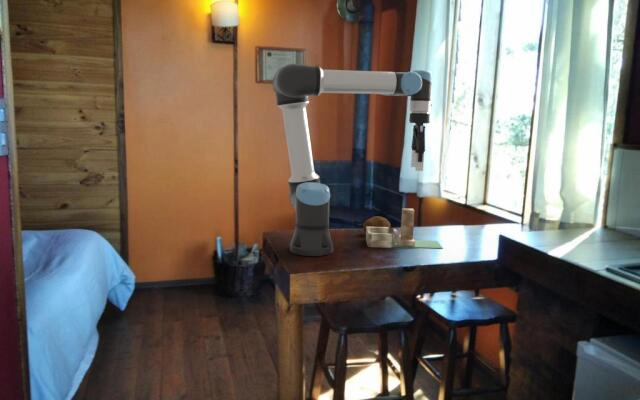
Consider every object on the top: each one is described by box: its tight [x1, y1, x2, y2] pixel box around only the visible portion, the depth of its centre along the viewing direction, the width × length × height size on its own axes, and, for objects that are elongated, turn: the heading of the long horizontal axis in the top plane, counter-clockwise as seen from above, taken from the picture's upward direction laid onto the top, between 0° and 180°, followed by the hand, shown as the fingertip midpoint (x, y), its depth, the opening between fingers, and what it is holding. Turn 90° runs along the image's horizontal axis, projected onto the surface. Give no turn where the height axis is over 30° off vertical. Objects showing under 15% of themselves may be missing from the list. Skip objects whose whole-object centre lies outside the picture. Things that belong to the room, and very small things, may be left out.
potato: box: [362, 215, 391, 234], centre depth 208 cm, size 8×12×8 cm, turn 122°
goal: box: [365, 227, 393, 249], centre depth 195 cm, size 9×12×5 cm
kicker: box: [392, 207, 416, 246], centre depth 194 cm, size 7×10×13 cm
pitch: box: [391, 239, 444, 250], centre depth 195 cm, size 26×10×1 cm, turn 89°
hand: (416, 168), depth 198 cm, fingers open, 13 cm apart
